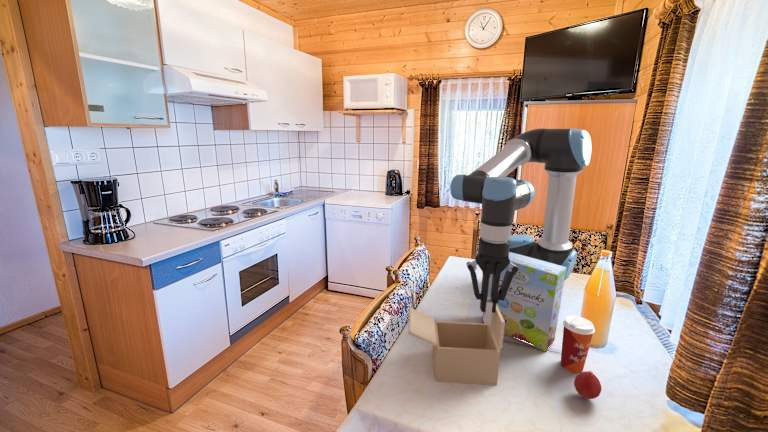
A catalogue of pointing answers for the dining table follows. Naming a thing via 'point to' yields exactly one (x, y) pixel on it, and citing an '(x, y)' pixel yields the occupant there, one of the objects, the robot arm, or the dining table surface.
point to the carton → (465, 353)
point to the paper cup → (576, 343)
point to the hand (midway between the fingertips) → (486, 322)
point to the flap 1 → (422, 326)
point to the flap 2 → (498, 327)
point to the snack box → (532, 300)
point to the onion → (587, 385)
